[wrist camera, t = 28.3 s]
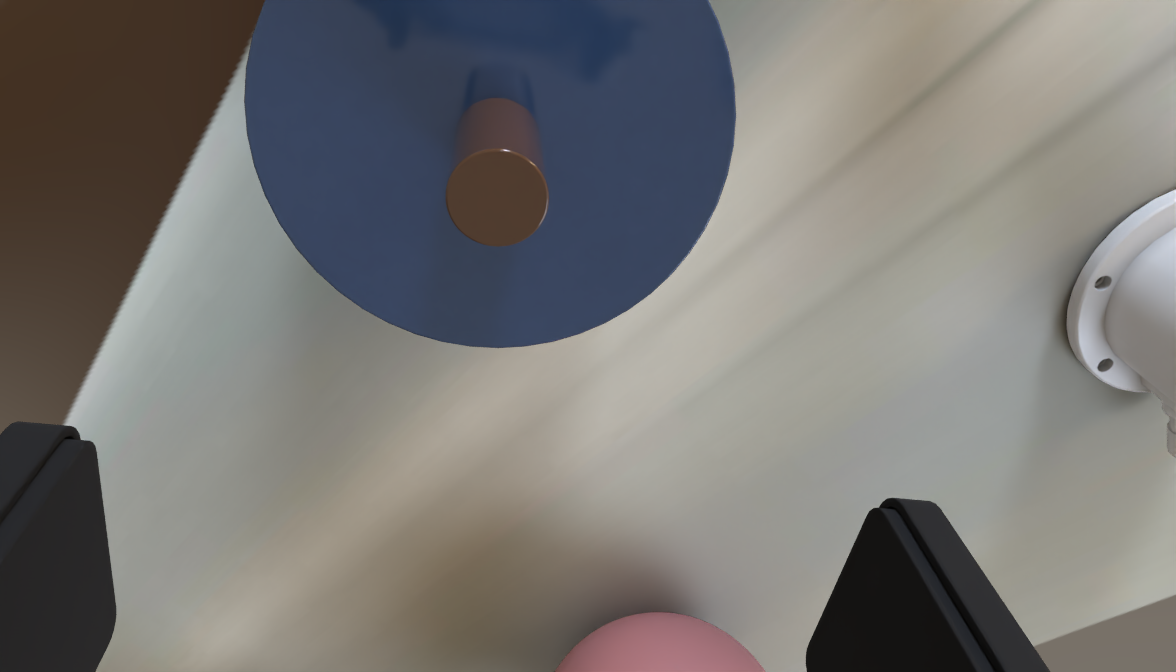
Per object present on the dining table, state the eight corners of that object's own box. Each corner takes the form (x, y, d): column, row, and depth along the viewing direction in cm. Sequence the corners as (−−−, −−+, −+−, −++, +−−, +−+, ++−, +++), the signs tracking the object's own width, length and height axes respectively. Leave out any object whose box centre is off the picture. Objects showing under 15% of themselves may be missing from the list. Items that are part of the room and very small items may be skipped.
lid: (772, 248, 29) (834, 337, 24) (389, 384, 30) (365, 497, 25) (649, -228, 22) (697, -254, 16) (152, -21, 23) (48, 17, 18)
